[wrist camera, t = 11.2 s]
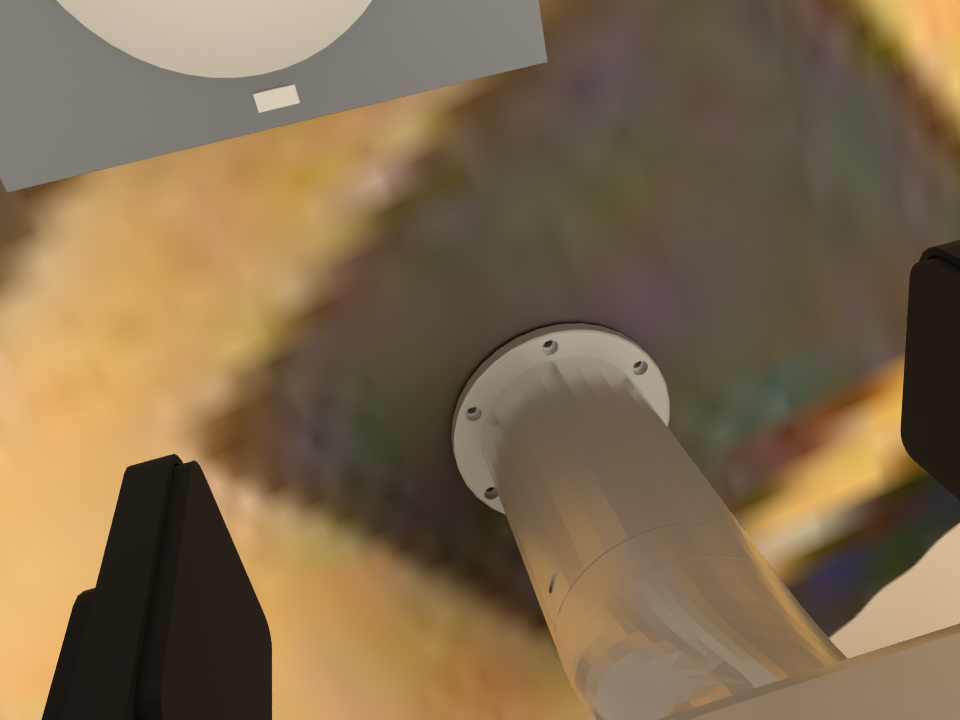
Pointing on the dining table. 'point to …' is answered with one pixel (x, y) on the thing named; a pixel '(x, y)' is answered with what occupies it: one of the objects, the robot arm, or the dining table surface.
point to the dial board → (227, 82)
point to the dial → (218, 31)
